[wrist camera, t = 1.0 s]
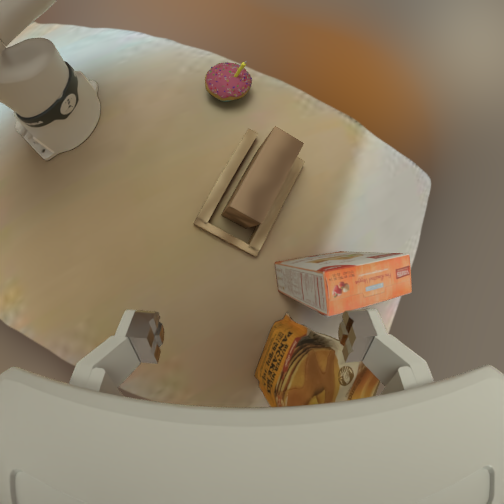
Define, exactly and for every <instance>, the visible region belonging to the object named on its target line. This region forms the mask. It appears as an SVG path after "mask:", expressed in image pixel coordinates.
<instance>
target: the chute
mask: <svg viewBox="0 0 504 504" xmlns="http://www.w3.org/2000/svg"><path fill="white" fill-rule="evenodd" d="M257 135H258V133H256V132H254V131H253V130H251V129H248V130H247V132H246V133H245V135H244V137H243V138H242V140H241V142H240V143H239V145H238V146H237V148H236V150H235V151H234V153H233V155H232V156H231V158H230V160H229V161H228V163H227V165H226V166H225V168H224V170H223V172H222V173H221V175H220V177H219V178H218V180H217V182H216V184H215V185H214V187H213V189H212V191H211V192H210V194H209V196H208V198H207V200H206V201H205V203H204V205H203V207H202V209H201V210H200V212H199V214H198V216H197V218H196V220H195V222H194V225H196V226H198V227H200V228H202V229H204V230H206V231H207V232H209V233H211V234H213V235H215V236H217V237H219V238H221V239H222V240H224V241H226V242H228V243H230V244H232V245H234V246H236V247H237V248H239V249H241V250H243V251H245V252H247V253H249V254H251V255H252V256H256V257H257V255H258V253H259V251H260V249H261V247H262V245H263V243H264V241H265V239H266V237H267V235H268V233H269V231H270V229H271V227H272V225H273V224H274V222H275V220H276V218H277V216H278V214H279V212H280V210H281V208H282V206H283V204H284V202H285V200H286V198H287V196H288V194H289V192H290V190H291V188H292V186H293V184H294V182H295V180H296V178H297V176H298V175H299V173H300V171H301V169H302V167H303V165H304V163H305V161H303V160H302V159H300V158H299V157H296V159H295V161H294V163H293V165H292V167H291V169H290V171H289V173H288V175H287V176H286V178H285V180H284V182H283V184H282V186H281V188H280V190H279V192H278V194H277V196H276V198H275V199H274V201H273V203H272V205H271V207H270V209H269V211H268V213H267V215H266V217H265V219H264V221H263V223H262V224H259V225H257V226H256V228H255V230H254V232H253V234H252V236H251V238H250V240H249V242H248V243H245V242H243V241H241V240H240V239H238V238H236V237H234V236H232V235H230V234H228V233H226V232H225V231H223V230H221V229H219V228H217V227H215V226H213V225H212V224H210V223H208V221H209V219H210V217H211V215H212V213H213V212H214V210H215V208H216V206H217V204H218V202H219V201H220V199H221V197H222V195H223V193H224V192H225V190H226V188H227V186H228V185H229V183H230V181H231V179H232V177H233V176H234V174H235V172H236V171H237V169H238V167H239V165H240V164H241V162H242V160H243V158H244V157H245V155H246V153H247V152H248V150H249V148H250V147H251V145H252V143H253V142H254V140H255V138H256V137H257Z"/></svg>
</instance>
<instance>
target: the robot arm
mask: <svg viewBox="0 0 504 504" xmlns="http://www.w3.org/2000/svg"><path fill="white" fill-rule="evenodd" d="M56 1H57V0H0V40H1V41H2V42H3V43H2V42H1V41H0V102H1V103H3V104H5V105H6V106H8V107H9V108H11V109H12V110H13V111H14V116H15V118H16V119H17V121H16V125H15V128H16V130H17V132H18V133H19V134H20V135H21V136H22V137H23V138H24V139H25V140H26V141H27V142H28V143H29V144H30V145H31V146H32V147H33V148H34V150H35V151H36V152H37V153H38V154H39V155H40V156H41V157H42V158H43V159H44V160H50V159H51V158H53V157H54V156H55V155H57V154H58V153H61V152H65V151H69V150H71V149H73V148H75V147H77V146H78V145H80V144H81V143H82V142H83V141H85V140H86V139H87V138H88V136H89V135H90V134H91V133H92V131H93V130H94V128H95V126H96V124H97V122H98V120H99V116H100V102H99V99H98V96H97V91H98V84H97V83H96V81H92V80H87V78H86V77H85V76H84V74H83V73H82V72H81V71H78V72H77V71H74V70H73V68H72V67H71V66H70V65H69V64H68V63H67V62H65V61H64V60H63V59H62V57H61V55H60V54H59V52H58V50H57V49H56V47H55V46H54V44H53V43H52V42H51V41H50V40H48V39H45V38H31V39H27V40H24V41H22V42H20V43H17V44H15V45H13V46H11V47H8V48H6V47H5V46H7V45H8V44H9V43H10V42H11V41H12V40H13V39H14V38H15V37H16V36H18V35H19V34H20V33H21V32H22V31H23V30H24V29H25V28H26V27H27V26H29V25H30V24H31V23H32V22H33V21H34V20H35V19H37V18H38V17H39V16H40V15H42V14H43V13H44V12H45V11H47V10H48V9H49V8H50V6H52V5H53V4H54V3H55V2H56ZM4 45H5V46H4ZM44 150H45V152H44ZM43 152H44V153H43ZM342 318H343V321H342V322H341V323H340V326H339V331H338V336H339V341H340V344H341V345H343V346H344V347H343V350H342V353H343V356H344V360H345V363H349V362H360V361H362V362H363V363H364V365H365V366H366V367H367V368H368V369H369V370H370V371H371V372H372V373H373V374H374V375H375V376H376V377H377V378H378V379H379V380H380V381H381V383H382V384H383V385H384V386H385V388H384V390H383V391H382V393H381V394H380V395H378V396H372V397H367V398H361V399H354V400H348V401H340V402H332V403H324V404H314V405H302V406H286V407H255V408H240V407H209V406H194V405H182V404H172V403H163V402H155V401H148V400H141V399H134V398H128V397H124V396H123V395H122V393H121V392H120V391H119V389H118V387H119V386H120V385H121V384H122V383H123V382H124V381H125V380H126V379H127V377H128V376H129V375H130V374H131V373H132V372H133V371H134V370H135V369H136V368H137V367H138V366H139V365H140V362H143V363H156V364H158V361H159V357H160V353H161V351H160V349H159V347H160V346H161V345H162V344H163V340H164V328H163V325H162V323H160V322H159V320H160V316H159V313H158V312H155V311H143V310H130V309H127V310H126V311H125V312H124V314H123V316H122V319H121V321H120V323H119V326H118V328H117V331H116V333H115V336H111V337H109V338H108V339H107V340H105V341H104V342H103V343H102V344H100V345H99V346H98V347H96V348H95V349H94V350H93V351H91V352H90V353H89V354H88V355H86V356H85V357H84V358H82V359H81V360H80V361H79V362H77V364H76V367H75V369H74V372H73V374H72V377H71V379H70V382H69V384H67V383H64V382H60V381H57V380H53V379H50V378H47V377H44V376H41V375H38V374H35V373H32V372H29V371H26V370H24V369H22V368H19V367H11V368H9V369H8V370H6V371H5V372H3V373H2V374H0V504H504V374H503V373H501V372H500V371H499V370H497V369H496V368H494V367H493V366H491V365H484V366H481V367H478V368H476V369H473V370H470V371H467V372H465V373H462V374H459V375H456V376H453V377H449V378H446V379H443V380H440V381H436V382H434V380H433V377H432V375H431V372H430V370H429V367H428V365H427V363H426V361H425V360H423V359H422V358H421V357H420V356H418V355H417V354H416V353H415V352H413V351H412V350H411V349H409V348H408V347H407V346H405V345H404V344H403V343H402V342H400V341H399V340H398V339H396V338H395V337H394V336H392V335H388V333H387V331H386V328H385V326H384V324H383V321H382V319H381V317H380V315H379V312H378V310H377V309H376V308H374V309H361V310H348V311H345V312H344V313H343V316H342Z"/></svg>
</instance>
